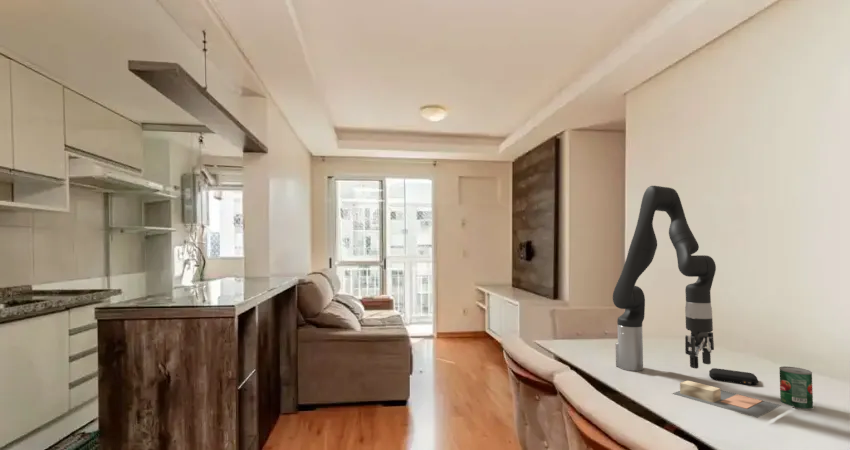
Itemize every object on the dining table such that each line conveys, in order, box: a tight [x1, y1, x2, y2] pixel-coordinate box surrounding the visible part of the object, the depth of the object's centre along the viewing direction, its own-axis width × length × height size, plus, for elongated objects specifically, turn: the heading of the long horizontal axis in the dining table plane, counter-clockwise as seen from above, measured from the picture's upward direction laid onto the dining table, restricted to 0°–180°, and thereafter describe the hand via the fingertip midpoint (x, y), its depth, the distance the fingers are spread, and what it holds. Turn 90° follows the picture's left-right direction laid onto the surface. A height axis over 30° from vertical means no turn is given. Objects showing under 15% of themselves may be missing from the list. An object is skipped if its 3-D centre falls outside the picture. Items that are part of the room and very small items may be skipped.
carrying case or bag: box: [708, 367, 759, 386], centre depth 161 cm, size 11×3×15 cm
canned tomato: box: [779, 366, 814, 411], centre depth 136 cm, size 8×8×11 cm
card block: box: [679, 380, 722, 403], centre depth 142 cm, size 10×5×4 cm, turn 34°
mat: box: [671, 389, 782, 419], centre depth 140 cm, size 24×18×1 cm
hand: (700, 365), depth 142 cm, fingers open, 8 cm apart
